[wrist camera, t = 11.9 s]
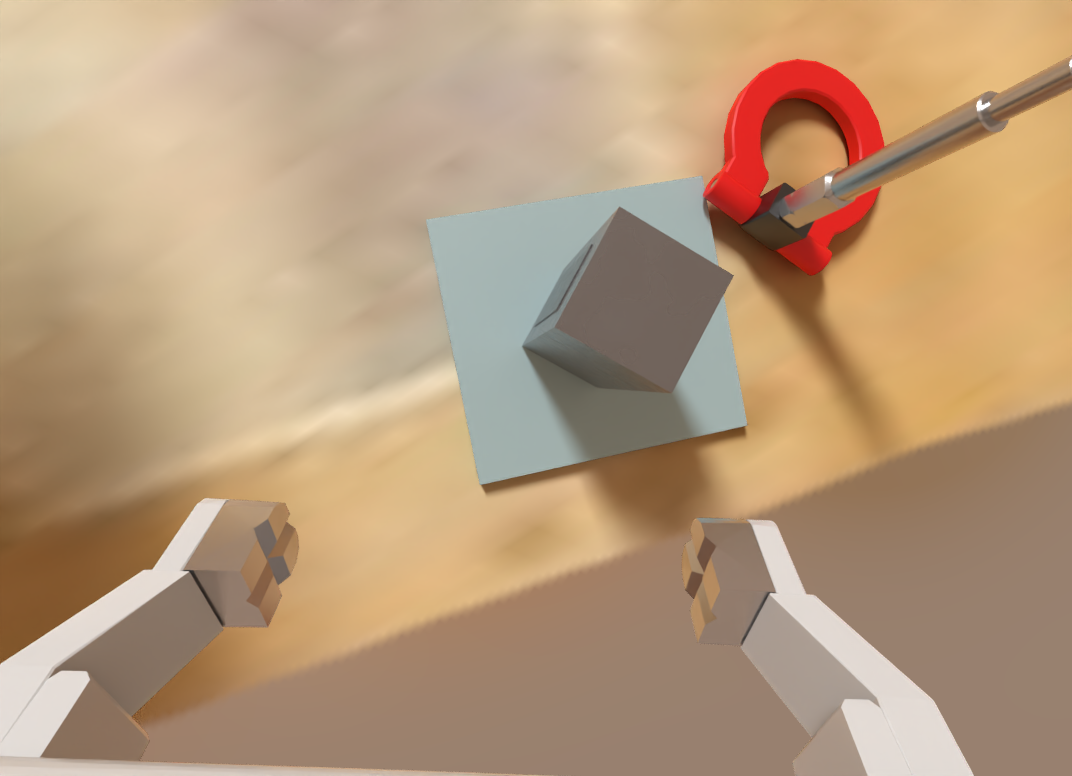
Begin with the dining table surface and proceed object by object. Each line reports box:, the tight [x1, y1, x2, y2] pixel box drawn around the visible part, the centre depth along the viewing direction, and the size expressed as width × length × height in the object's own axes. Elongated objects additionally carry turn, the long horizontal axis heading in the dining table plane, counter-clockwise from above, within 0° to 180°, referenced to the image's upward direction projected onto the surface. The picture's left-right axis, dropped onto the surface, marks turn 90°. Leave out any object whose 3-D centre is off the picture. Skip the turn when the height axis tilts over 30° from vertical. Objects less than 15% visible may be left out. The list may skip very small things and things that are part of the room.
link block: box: [522, 206, 734, 393], centre depth 20 cm, size 4×4×9 cm
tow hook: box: [703, 56, 1072, 276], centre depth 20 cm, size 8×13×9 cm
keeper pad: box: [426, 176, 747, 485], centre depth 25 cm, size 13×12×1 cm
